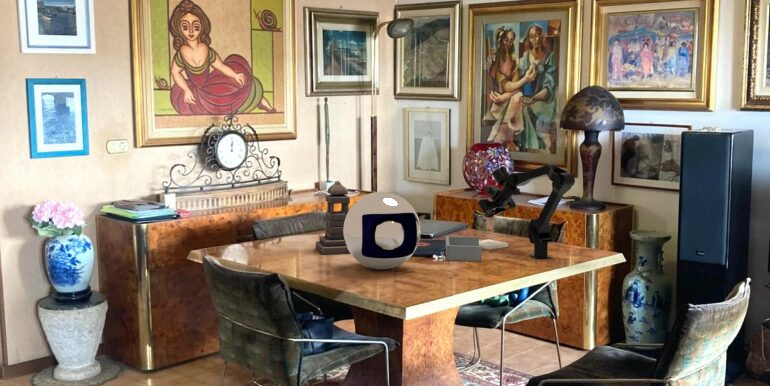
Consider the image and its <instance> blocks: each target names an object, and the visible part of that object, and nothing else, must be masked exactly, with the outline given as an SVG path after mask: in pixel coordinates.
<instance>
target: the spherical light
mask: <svg viewBox="0 0 770 386" xmlns="http://www.w3.org/2000/svg"><path fill="white" fill-rule="evenodd" d="M421 230H422V229H421V223H420V219H419V216H418V214H417V211H416V210H415V209H414V207H413V206H412V204H410V202H409V201H407V200H406V199H405V198H404V197H402V196H401V195H398V194H396V193H393V192H388V191H376V192H371V193H368V194H366V195H363V196H361V198H358V199H357V200H356V202H354V203H353V204H352V206H350V208H349V211H348V213H347V215H346V218H345V221H344V226H343V235H344V241H345V244H346V246H347V248H348V250H349V252H350V253H351V254H350V255H351V256H352V257H353V258H354V259H355V261H357V262H358V263H359V264H361V265H362V266H365V267H367V268H370V269H373V270H380V271H381V270H382V271H385V270H390V269H394V268H397V267H399V266H401V265H402V264H404V263H406V262H407V261H408V260H409V259H410V258H411V257H412V256H413V255H414V253H415V251H416V250H417V248H418V246H419V243H420V239H421Z"/></svg>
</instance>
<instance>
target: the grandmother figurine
mask: <svg viewBox="0 0 770 386" xmlns="http://www.w3.org/2000/svg"><path fill="white" fill-rule="evenodd" d="M483 218H484V219H486V229H485V232H489V233H494V232H495V231H496V230H494V223H493V222H494V221H495V215H494V214H491V215H490V216H488V217H485V216H483Z"/></svg>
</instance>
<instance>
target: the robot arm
mask: <svg viewBox="0 0 770 386" xmlns="http://www.w3.org/2000/svg"><path fill="white" fill-rule="evenodd" d="M491 175H492V177H493V178H494V181H496V183H497V185H498V186H500V187H501V186H502V187H501V189H500V188H499V187H498V186H497V185H494V184H493V185H492V184H491V185H490V184H489V185H486V187H485V188H484V191H483V192H484V193H486V194H487V195H489V196H490V197H489V198H490V199H488V198H480V199H479V200H478V201H477V204H478V205H479V207H480V209H481V211H482V212H483V213H484V216H485V217H486V218H487V217H488V216H490V215H491V214H494V216H496V215H499V214H503V213H505V212H507V209H506V208H507V206H509V207H508V210H509V211H514V210H515V209H516V207H517V203H516V202H515V201H514V199H513V197H514V196H521V188H518V187H523V186H526V185H527V184H530V182H531V181H533V180H536V179H537V180H538V179H539V178H542V177H546V176H547V177H548V179H549V180H550V181H551V187H552V188H551V189H552V190H551V192H550V194H549V196H548V198H547V199H546V201H545V204H544V205H543V207H542V209H541V212H540V213H539V215H538V217H536V218H531V220H530V221H529V224H528V225H527V230H526V231H527V234H528V239H529V243H530V244H533V253H532V254H530V257H532V258H534V259H550V258H552V256H549V255H548V250H549V249H548V247H549V243H553V240H554V237H553V235H552V234H551V232H550V228H551V226H550V222H551V220H552V217H553V215H554V214H555V212H556V210H557V208H558V206H559V204H560V202H561V200H562V198H563V196H564V195H565V194H566V193H567V192H569V191H570V190H571V189H572V187H573V186H574V185H575V183H576V179H575V176H574V174H573V173H572V172H568V171H567V170H565V169H563V168H561V167H559V166H558V165H556V164H554V163H550V164H549V163H548V164H545V165H542V166H539V167H537V168H533V169H531V170H528V171H522V172H512V173H509V171H508V170H507V168H506V167H505V166H500V167H499V168H497V169H496V170H494V171H492V173H491ZM484 216H483V217H484Z"/></svg>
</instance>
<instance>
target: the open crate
mask: <svg viewBox="0 0 770 386" xmlns="http://www.w3.org/2000/svg"><path fill="white" fill-rule="evenodd" d="M479 241H480V237H479V236H466V235H465V236H460V235H459V236H457V235H455V236H454V235H446V236H445V260H446V262H447V261H450V262H451V261H453V262H455V261H456V262H460V261H461V262H482V260H483V259H482V255H483V254H482V251H483V248H482V246H479Z"/></svg>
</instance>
